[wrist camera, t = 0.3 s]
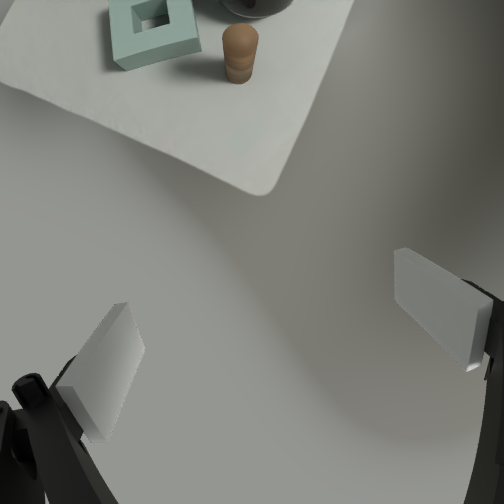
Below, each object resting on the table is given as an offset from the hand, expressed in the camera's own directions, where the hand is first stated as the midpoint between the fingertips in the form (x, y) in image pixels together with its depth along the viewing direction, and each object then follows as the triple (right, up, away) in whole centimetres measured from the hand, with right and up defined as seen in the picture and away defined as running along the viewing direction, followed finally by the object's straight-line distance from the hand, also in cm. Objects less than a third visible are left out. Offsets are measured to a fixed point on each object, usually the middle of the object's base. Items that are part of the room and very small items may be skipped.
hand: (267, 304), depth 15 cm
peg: (-2, +25, +21) cm, 32 cm away
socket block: (-13, +31, +18) cm, 38 cm away
